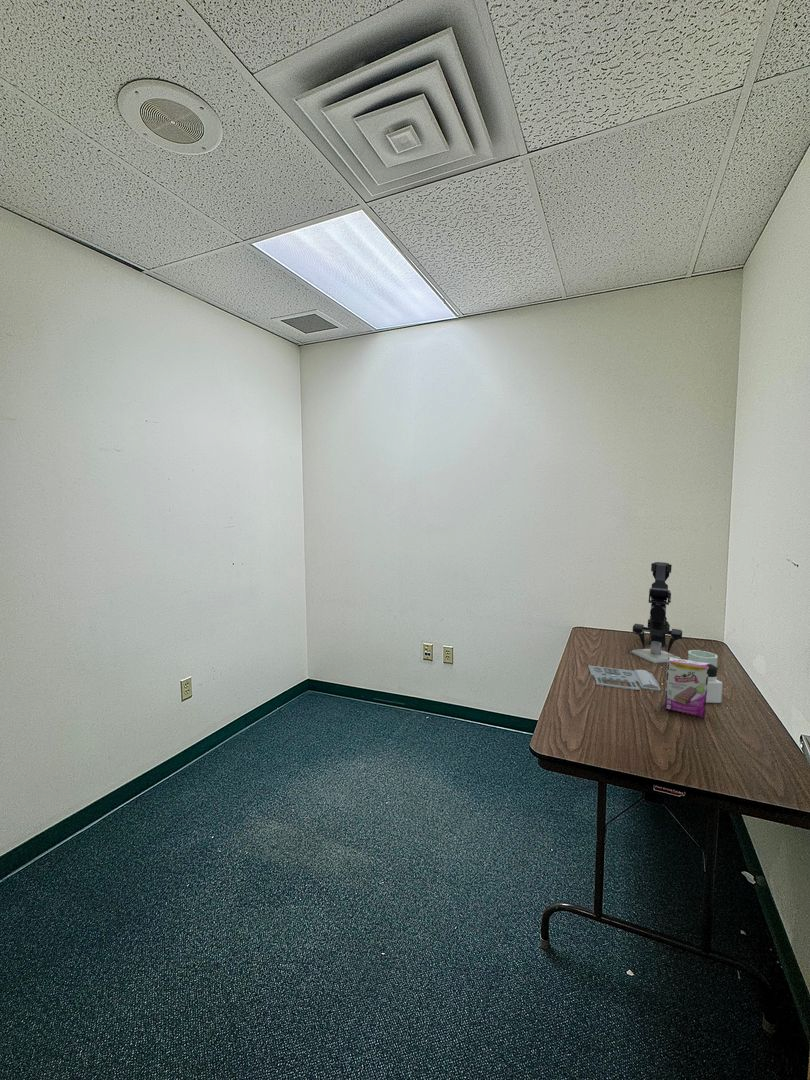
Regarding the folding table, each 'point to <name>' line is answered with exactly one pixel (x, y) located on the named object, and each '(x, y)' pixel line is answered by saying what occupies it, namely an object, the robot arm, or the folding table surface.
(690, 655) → the bowl
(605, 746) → the folding table surface
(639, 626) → the robot arm
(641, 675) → the office telephone
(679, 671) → the candy bar box
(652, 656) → the lid
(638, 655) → the mat
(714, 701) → the medicine bottle
